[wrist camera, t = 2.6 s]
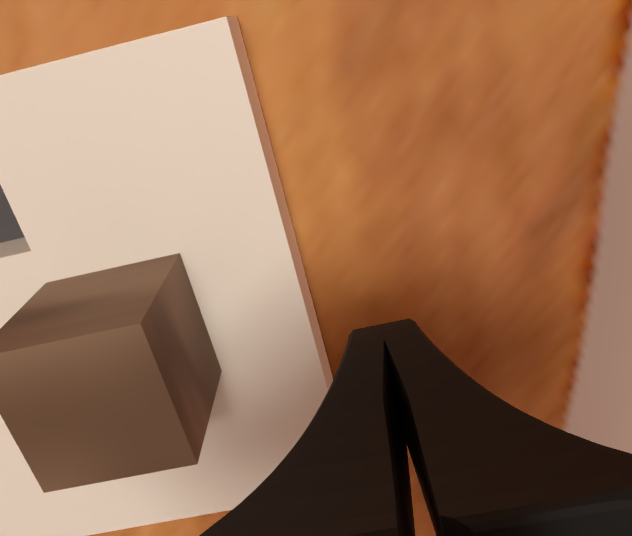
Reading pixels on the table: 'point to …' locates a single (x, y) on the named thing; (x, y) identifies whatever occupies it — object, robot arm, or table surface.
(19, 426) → the walnut block
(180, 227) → the trap deck
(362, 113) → the table surface
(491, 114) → the table surface
